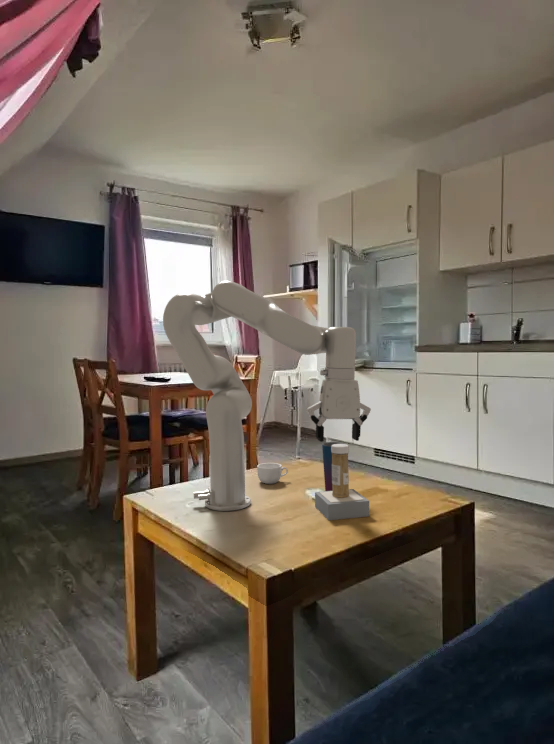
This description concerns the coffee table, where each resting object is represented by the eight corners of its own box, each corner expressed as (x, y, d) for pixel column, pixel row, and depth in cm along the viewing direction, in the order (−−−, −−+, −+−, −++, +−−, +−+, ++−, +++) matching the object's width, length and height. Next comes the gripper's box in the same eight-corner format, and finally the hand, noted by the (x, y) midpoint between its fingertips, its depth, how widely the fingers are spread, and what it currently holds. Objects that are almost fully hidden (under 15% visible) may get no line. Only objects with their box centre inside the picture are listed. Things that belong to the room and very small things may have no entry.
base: (328, 520, 128) (328, 503, 128) (315, 506, 139) (314, 491, 139) (369, 516, 131) (369, 500, 131) (353, 503, 142) (353, 488, 141)
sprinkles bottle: (351, 497, 133) (351, 446, 132) (335, 498, 132) (334, 447, 131) (345, 492, 137) (345, 442, 137) (329, 493, 136) (328, 443, 136)
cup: (347, 498, 146) (347, 446, 145) (323, 498, 146) (322, 446, 145) (344, 491, 153) (344, 441, 152) (321, 491, 153) (321, 441, 152)
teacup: (260, 486, 159) (260, 469, 159) (254, 480, 167) (254, 463, 167) (291, 483, 162) (291, 466, 162) (284, 477, 170) (284, 461, 169)
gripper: (312, 375, 127) (310, 444, 128) (377, 376, 131) (374, 442, 132) (303, 373, 135) (302, 438, 136) (365, 373, 138) (363, 436, 140)
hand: (338, 440), depth 134 cm, fingers open, 9 cm apart
